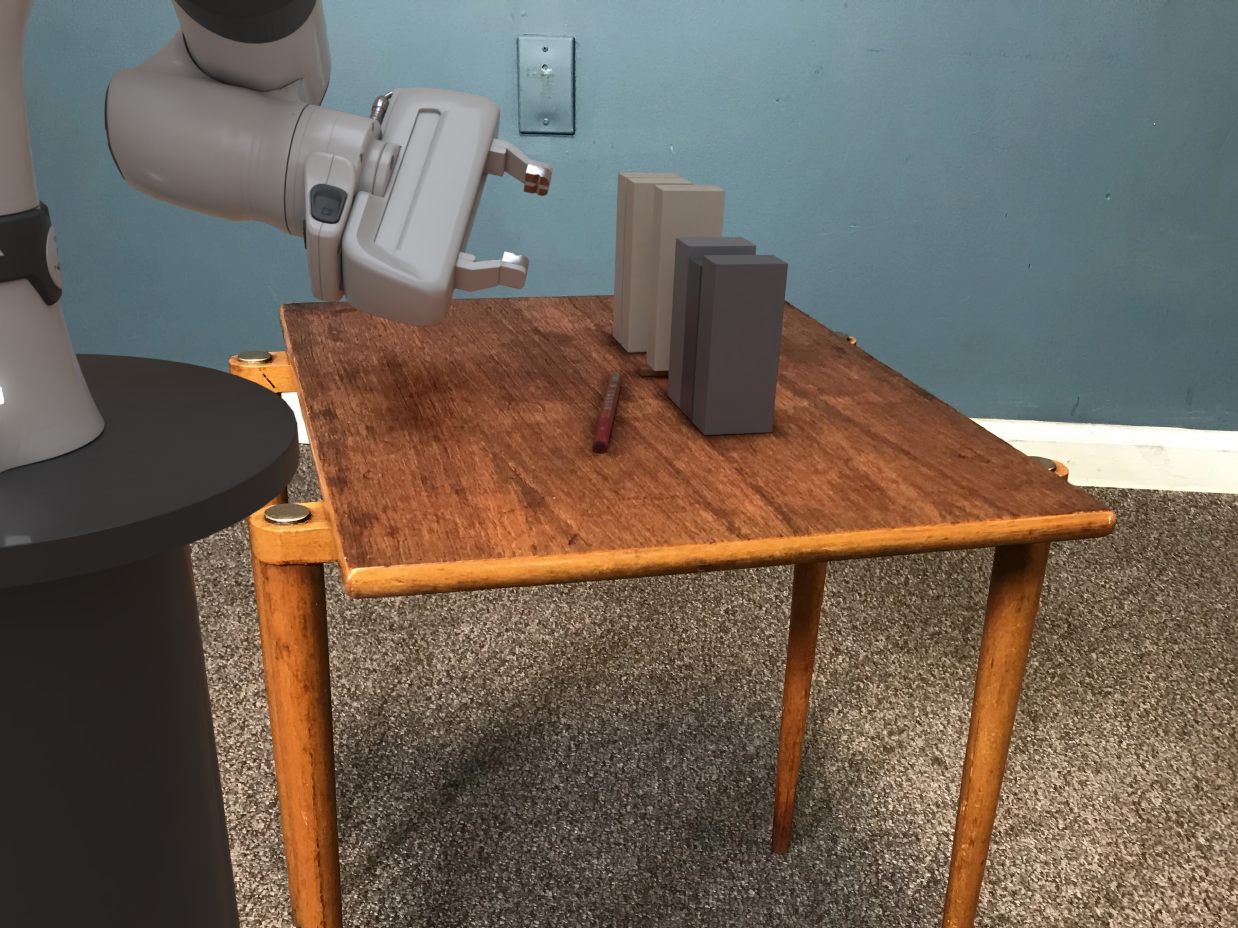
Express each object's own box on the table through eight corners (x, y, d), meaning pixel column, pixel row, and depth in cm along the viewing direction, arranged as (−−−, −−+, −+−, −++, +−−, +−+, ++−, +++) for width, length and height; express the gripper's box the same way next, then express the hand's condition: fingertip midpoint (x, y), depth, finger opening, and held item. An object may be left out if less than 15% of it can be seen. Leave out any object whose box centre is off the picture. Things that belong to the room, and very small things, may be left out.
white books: (641, 376, 104) (649, 196, 97) (604, 336, 114) (609, 172, 108) (715, 373, 105) (728, 196, 99) (673, 335, 116) (682, 172, 109)
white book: (654, 371, 103) (662, 189, 96) (646, 362, 105) (654, 184, 98) (712, 369, 104) (725, 190, 98) (703, 361, 106) (715, 185, 100)
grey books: (704, 435, 91) (715, 264, 85) (667, 396, 99) (675, 237, 93) (772, 432, 92) (788, 263, 87) (730, 393, 100) (742, 236, 95)
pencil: (607, 454, 87) (607, 441, 86) (591, 453, 87) (591, 440, 86) (623, 377, 103) (623, 365, 103) (610, 376, 103) (610, 364, 103)
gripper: (380, 120, 97) (558, 163, 98) (308, 317, 87) (508, 362, 88) (379, 48, 91) (568, 94, 92) (303, 248, 81) (516, 297, 82)
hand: (538, 226), depth 90 cm, fingers open, 8 cm apart
